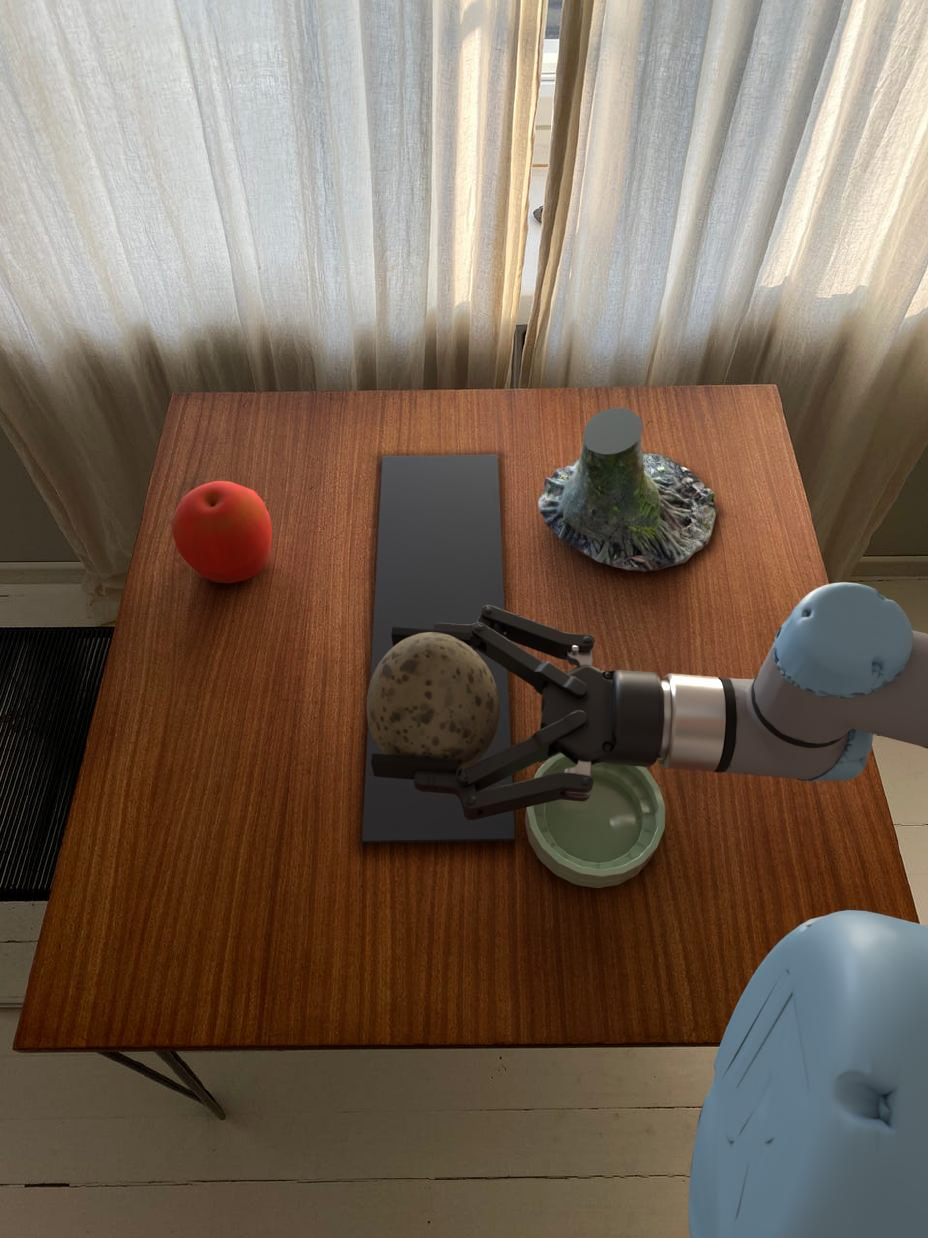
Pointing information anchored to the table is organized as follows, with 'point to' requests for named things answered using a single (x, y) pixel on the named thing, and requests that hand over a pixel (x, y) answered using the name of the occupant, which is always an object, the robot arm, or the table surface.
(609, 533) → the tree stump
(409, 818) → the mat
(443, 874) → the table surface
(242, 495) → the apple
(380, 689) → the decorative egg
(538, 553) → the table surface
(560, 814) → the bowl
